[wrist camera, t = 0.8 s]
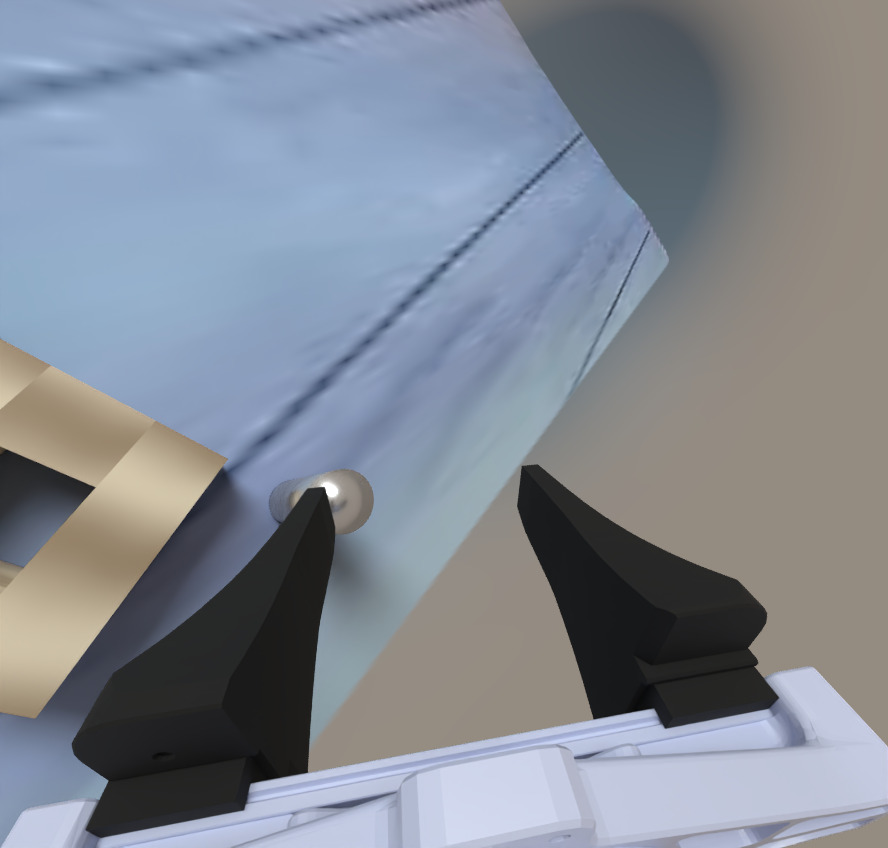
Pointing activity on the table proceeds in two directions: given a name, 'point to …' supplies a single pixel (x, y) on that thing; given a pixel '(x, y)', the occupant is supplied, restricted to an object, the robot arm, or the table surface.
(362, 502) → the peg
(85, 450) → the knuckle block
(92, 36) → the table surface
